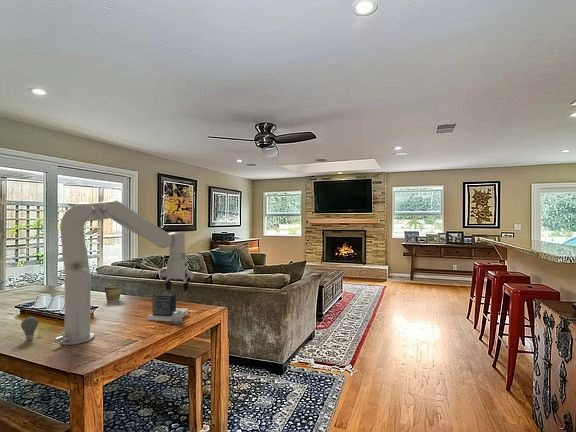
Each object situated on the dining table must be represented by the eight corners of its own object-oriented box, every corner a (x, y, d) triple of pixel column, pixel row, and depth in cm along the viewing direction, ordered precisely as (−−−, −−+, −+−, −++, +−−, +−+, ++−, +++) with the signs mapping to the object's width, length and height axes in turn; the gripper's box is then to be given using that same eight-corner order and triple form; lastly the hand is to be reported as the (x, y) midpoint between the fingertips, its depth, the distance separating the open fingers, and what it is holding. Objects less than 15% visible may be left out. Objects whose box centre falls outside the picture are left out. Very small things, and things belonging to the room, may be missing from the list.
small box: (176, 312, 177) (176, 293, 177) (170, 316, 171) (170, 296, 171) (158, 311, 179) (158, 292, 179) (151, 315, 172) (152, 295, 172)
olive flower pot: (117, 303, 204) (117, 287, 204) (101, 303, 204) (101, 287, 204) (127, 298, 217) (127, 283, 217) (111, 298, 217) (112, 283, 217)
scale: (175, 322, 167) (175, 316, 167) (146, 319, 171) (146, 314, 171) (193, 312, 185) (193, 307, 185) (167, 310, 189) (167, 305, 189)
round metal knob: (178, 325, 162) (178, 313, 162) (170, 324, 163) (170, 312, 163) (183, 322, 167) (183, 310, 167) (175, 321, 168) (175, 310, 168)
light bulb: (36, 336, 146) (36, 314, 146) (40, 339, 142) (40, 316, 143) (19, 340, 142) (19, 317, 142) (22, 343, 138) (22, 320, 138)
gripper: (196, 255, 168) (196, 289, 168) (166, 255, 171) (166, 287, 171) (188, 257, 160) (189, 292, 160) (157, 257, 164) (157, 291, 164)
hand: (177, 290), depth 166 cm, fingers open, 9 cm apart
